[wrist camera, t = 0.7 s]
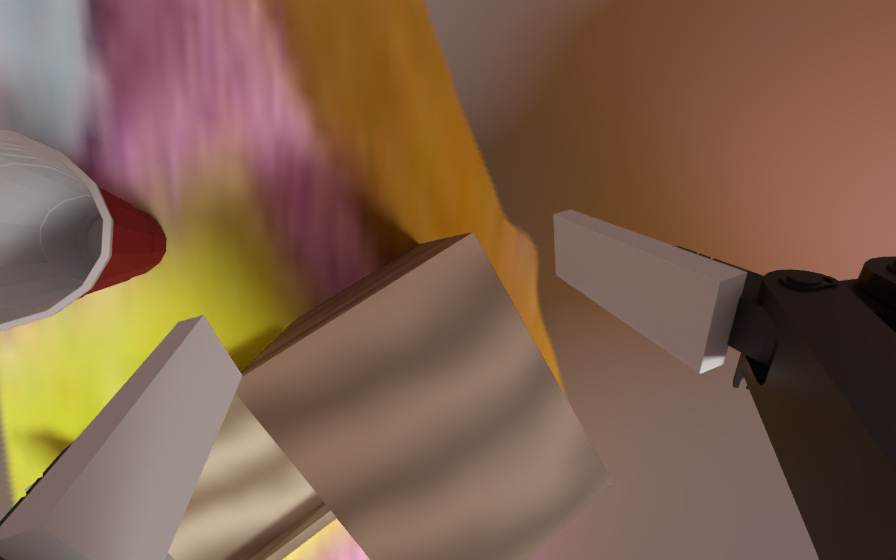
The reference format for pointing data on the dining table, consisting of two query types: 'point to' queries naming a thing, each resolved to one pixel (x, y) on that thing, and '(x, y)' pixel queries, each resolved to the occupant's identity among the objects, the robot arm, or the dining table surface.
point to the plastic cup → (62, 233)
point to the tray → (247, 499)
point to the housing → (427, 413)
